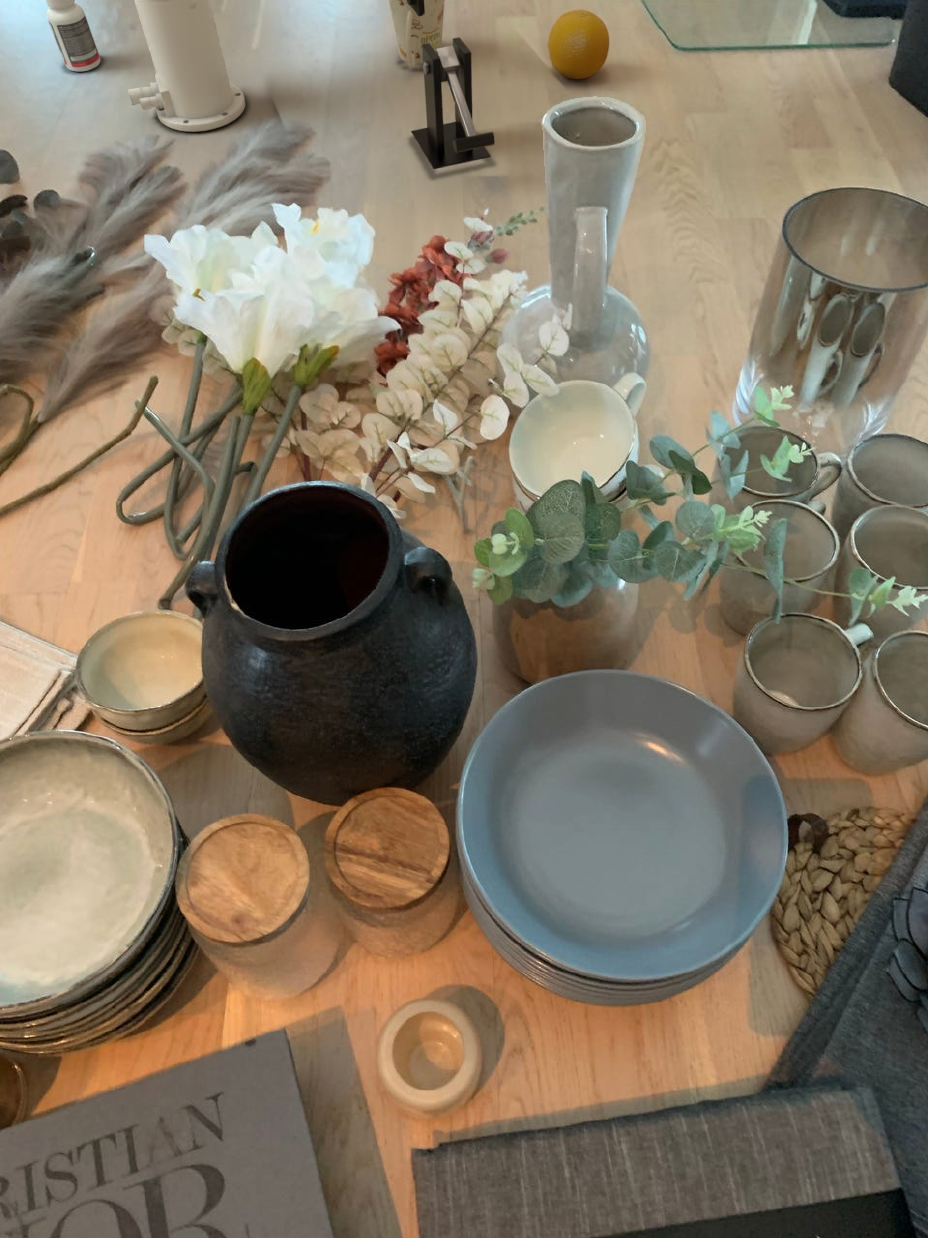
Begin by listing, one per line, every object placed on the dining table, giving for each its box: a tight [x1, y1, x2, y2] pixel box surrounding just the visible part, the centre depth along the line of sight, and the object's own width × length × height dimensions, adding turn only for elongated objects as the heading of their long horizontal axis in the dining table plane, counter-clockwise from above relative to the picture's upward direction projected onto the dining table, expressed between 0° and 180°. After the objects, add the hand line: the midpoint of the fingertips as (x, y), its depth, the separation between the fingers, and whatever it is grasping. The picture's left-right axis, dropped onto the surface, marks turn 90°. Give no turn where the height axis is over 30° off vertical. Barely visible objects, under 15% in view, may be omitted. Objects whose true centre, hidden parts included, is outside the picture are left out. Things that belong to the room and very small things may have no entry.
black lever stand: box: [410, 36, 492, 170], centre depth 111 cm, size 10×8×13 cm
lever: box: [436, 44, 496, 153], centre depth 107 cm, size 13×5×2 cm, turn 19°
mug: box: [388, 0, 446, 68], centre depth 125 cm, size 8×13×10 cm, turn 174°
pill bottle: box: [45, 0, 101, 73], centre depth 129 cm, size 5×5×10 cm
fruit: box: [547, 9, 610, 80], centre depth 124 cm, size 9×8×8 cm
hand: (458, 2), depth 96 cm, fingers open, 9 cm apart
